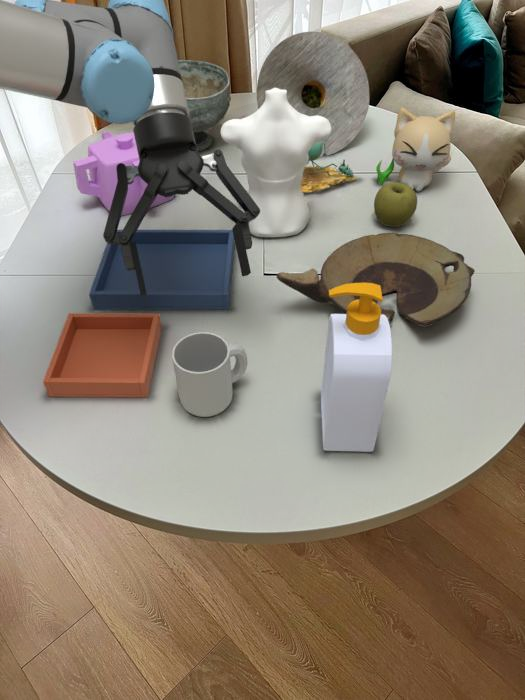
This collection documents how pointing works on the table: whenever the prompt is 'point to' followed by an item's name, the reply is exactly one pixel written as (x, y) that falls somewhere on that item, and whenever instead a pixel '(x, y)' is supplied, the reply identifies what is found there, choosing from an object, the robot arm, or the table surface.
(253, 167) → the torso sculpture
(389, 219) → the apple
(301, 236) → the table surface
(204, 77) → the bowl
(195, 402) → the cup
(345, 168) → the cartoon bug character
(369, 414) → the soap bottle
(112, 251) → the blue tray
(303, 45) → the disc
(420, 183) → the kitten
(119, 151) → the teakettle
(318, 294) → the pottery shard
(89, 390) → the terracotta tray
